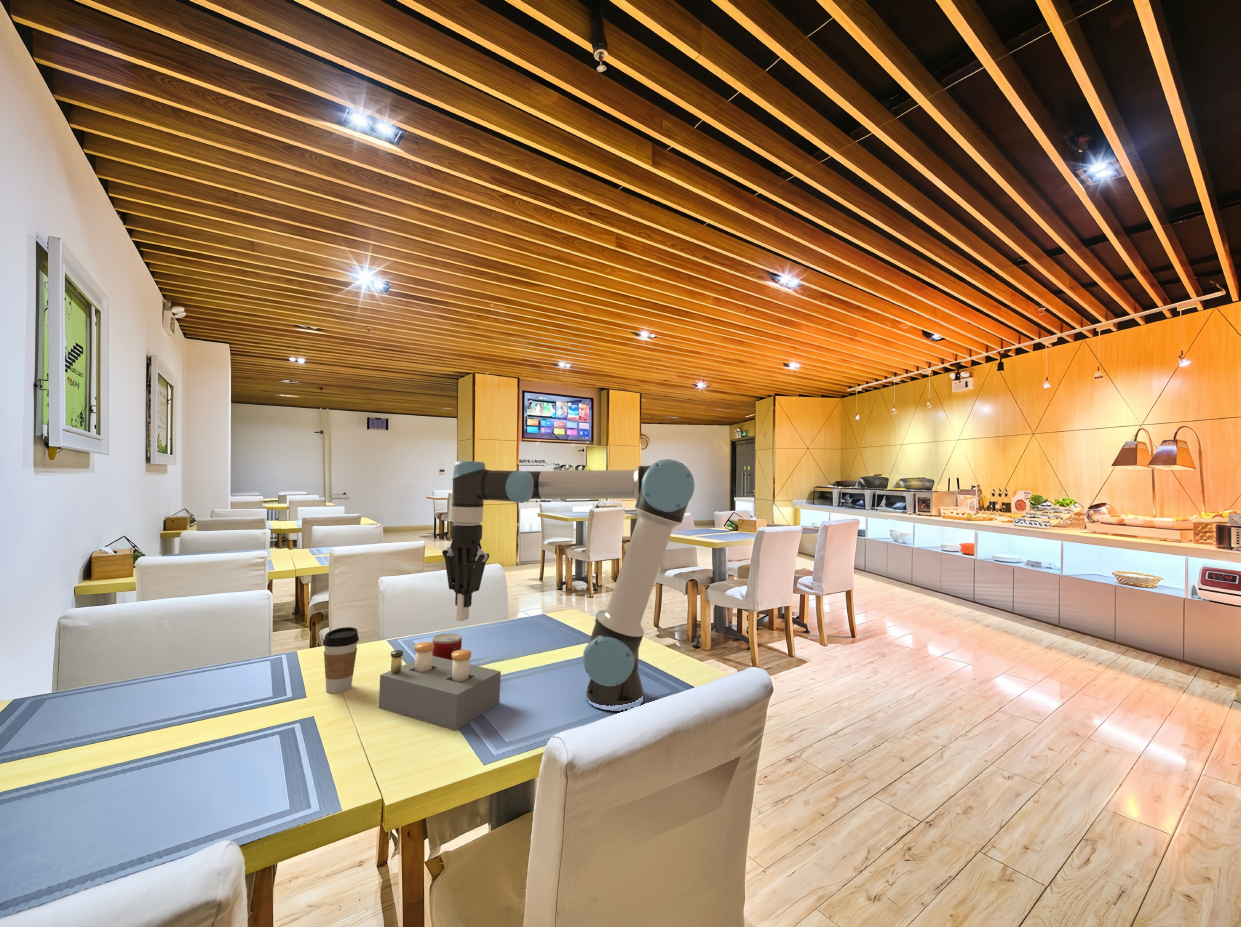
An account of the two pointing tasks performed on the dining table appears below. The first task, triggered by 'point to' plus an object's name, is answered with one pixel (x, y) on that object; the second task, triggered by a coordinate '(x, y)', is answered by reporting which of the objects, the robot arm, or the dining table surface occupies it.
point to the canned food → (446, 645)
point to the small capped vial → (396, 661)
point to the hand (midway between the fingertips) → (462, 619)
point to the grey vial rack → (440, 693)
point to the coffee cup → (340, 658)
